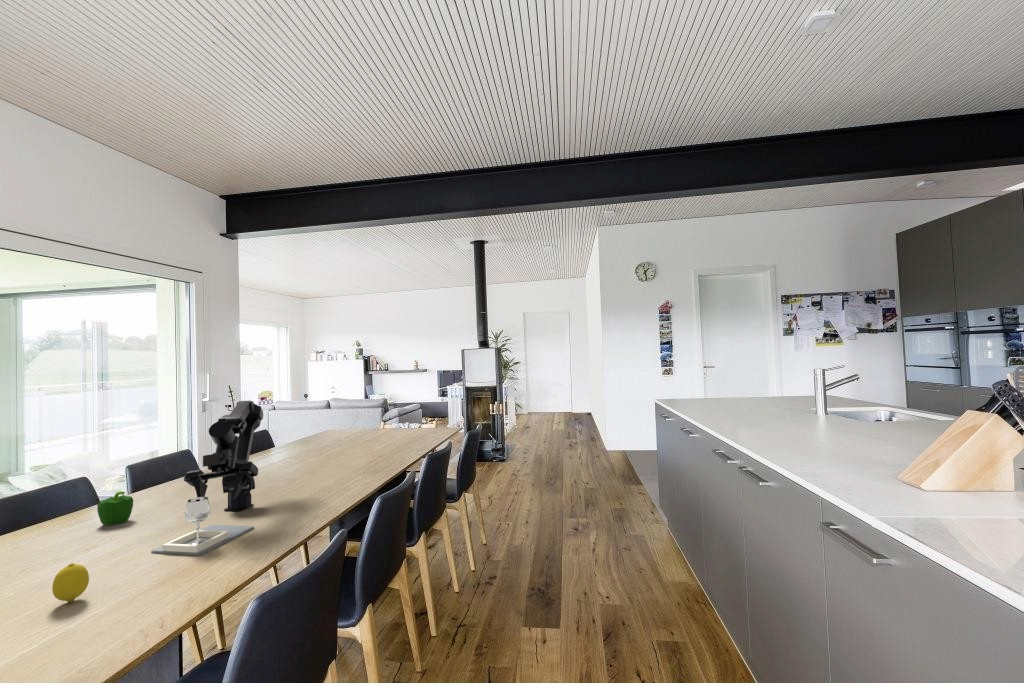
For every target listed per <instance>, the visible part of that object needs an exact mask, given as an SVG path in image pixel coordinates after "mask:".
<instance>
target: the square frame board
mask: <svg viewBox="0 0 1028 687" xmlns="http://www.w3.org/2000/svg"><path fill="white" fill-rule="evenodd" d="M254 529H255V526H253V525H251V526H250V525H231V524H230V525H227V524H209V525H207V526H204V527H202V528H199V539H200V540H206V541H204V542H202V543H200V544H198V545H190V544H189V543H191V542H194V541H195V540H196V538H197V531H196V529H195V530H193V531H191V532H189V533H186V534H184V535H181V536H178V537H177V538H175V539H172V540H170V541H169V542H166V543H164V544H162V545H161V546H159V547H157V548H154V549H153V550H151V554H160V555H161V554H165V555H166V554H167V555H168V554H169V555H179V554H180V555H183V556H198V555H199V556H198V557H200V556H203V555H205V554H207V553H208V551H209V552H210V550H211V551H213V550H214V548H215V549H216V547H217V548H218V547H221V546H223V545H224V544H226V543H228V542H230V541H232V540H234V539H236V538H238V537H240V536H242V535H243V534H246V533H248V532H250V531H252V530H254ZM212 549H213V550H212ZM206 552H207V553H206ZM204 553H205V554H204ZM202 554H203V555H202ZM180 555H179V556H180Z"/></svg>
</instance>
